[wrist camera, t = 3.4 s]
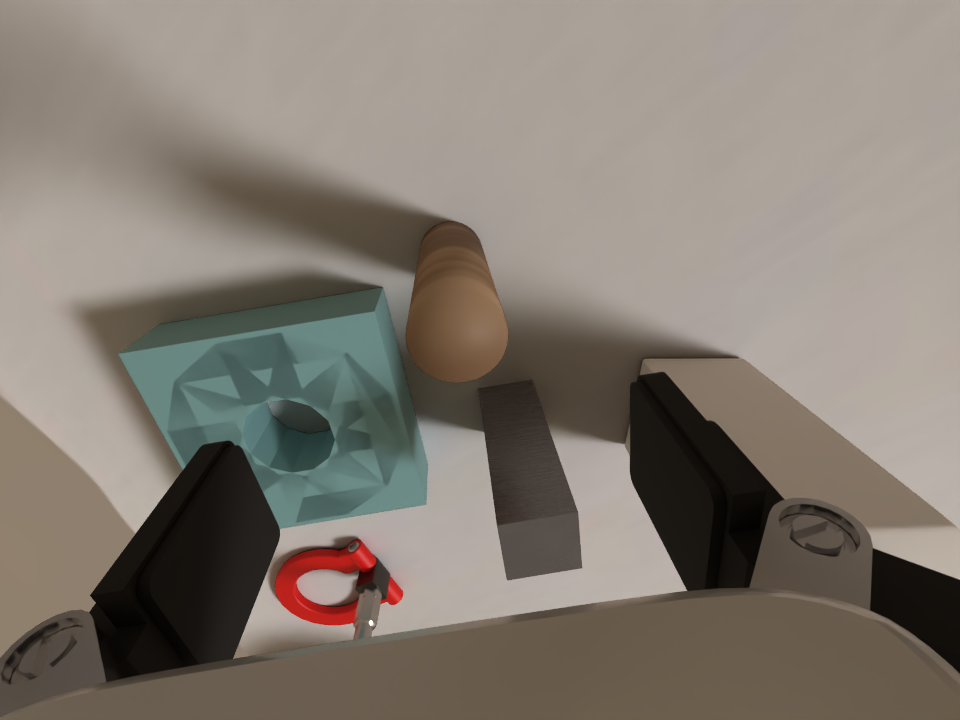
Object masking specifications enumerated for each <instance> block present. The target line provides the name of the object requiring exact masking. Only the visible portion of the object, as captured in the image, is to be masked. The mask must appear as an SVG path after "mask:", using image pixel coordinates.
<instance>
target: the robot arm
mask: <svg viewBox="0 0 960 720" xmlns="http://www.w3.org/2000/svg"><path fill="white" fill-rule="evenodd" d="M630 475H631V480H632V483H633V485H634V487H635V489H636V491H637V493H638V495H639V497H640V499H641V501H642V503H643V505H644V507H645V509H646V511H647V513H648V515H649V517H650V519H651V521H652V523H653V525H654V527H655V528H656V530H657V532H658V534H659V536H660V538H661V540H662V542H663V544H664V546H665V548H666V550H667V552H668V554H669V556H670V558H671V560H672V562H673V564H674V566H675V568H676V570H677V572H678V573H679V575H680V577H681V579H682V581H683V583H684V585H685V587H686V589H687V591H683V592H674V593H667V594H659V595H652V596H644V597H636V598H629V599H621V600H614V601H606V602H599V603H592V604H585V605H579V606H572V607H565V608H558V609H552V610H545V611H538V612H532V613H525V614H518V615H511V616H505V617H498V618H491V619H485V620H478V621H471V622H465V623H458V624H452V625H445V626H439V627H432V628H426V629H419V630H413V631H406V632H400V633H393V634H387V635H381V636H374V637H368V638H361V639H355V640H348V641H342V642H336V643H329V644H323V645H317V646H311V647H304V648H298V649H292V650H286V651H279V652H273V653H267V654H261V655H255V656H248V657H242V658H236V659H233V657H234V655H235V652H236V649H237V647H238V644H239V642H240V639H241V637H242V634H243V632H244V629H245V626H246V624H247V621H248V619H249V616H250V614H251V611H252V608H253V606H254V603H255V601H256V598H257V596H258V593H259V591H260V588H261V585H262V583H263V580H264V578H265V575H266V573H267V570H268V568H269V565H270V562H271V560H272V557H273V555H274V552H275V550H276V547H277V545H278V542H279V538H280V529H279V525H278V523H277V521H276V519H275V517H274V514H273V512H272V510H271V508H270V506H269V504H268V502H267V500H266V498H265V495H264V493H263V491H262V489H261V487H260V485H259V483H258V481H257V479H256V476H255V474H254V472H253V470H252V468H251V466H250V464H249V462H248V459H247V457H246V455H245V453H244V451H243V449H242V448H241V447H240V446H239V445H234V443H233V442H231V441H228V440H227V441H221V442H214V443H208V444H204V445H202V446H201V447H200V448H199V449H198V450H197V452H196V453H195V455H194V456H193V457H192V459H191V460H190V461H189V463H188V464H187V465H186V467H185V468H184V469H183V471H182V472H181V473H180V475H179V476H178V477H177V479H176V480H175V482H174V483H173V484H172V486H171V487H170V488H169V490H168V491H167V492H166V494H165V495H164V496H163V498H162V499H161V500H160V502H159V503H158V504H157V506H156V507H155V509H154V510H153V511H152V513H151V514H150V515H149V517H148V518H147V519H146V521H145V522H144V523H143V525H142V526H141V527H140V529H139V530H138V531H137V533H136V534H135V536H134V537H133V538H132V540H131V541H130V542H129V544H128V545H127V546H126V548H125V549H124V550H123V552H122V553H121V554H120V556H119V557H118V559H117V560H116V561H115V563H114V564H113V565H112V567H111V568H110V569H109V571H108V572H107V573H106V575H105V576H104V577H103V579H102V580H101V581H100V583H99V584H98V585H97V587H96V588H95V590H94V591H93V592H92V594H91V595H90V596H91V597H92V599H93V600H94V601H95V602H96V604H95V605H94V607H93V608H92V609H91V611H90V612H87V611H84V610H71V611H67V612H64V613H61V614H58V615H56V616H53V617H51V618H49V619H47V620H46V621H43V622H42V623H40V624H39V625H37V626H35V627H34V628H33V629H31V630H30V631H28V632H27V633H25V634H24V635H23V636H22V637H21V638H19V639H18V640H17V641H16V642H15V643H14V644H13V645H11V647H10V648H9V649H8V650H7V651H6V652H5V653H4V655H2V657H1V658H0V720H960V580H959V579H957V578H954V577H951V576H948V575H946V574H943V573H940V572H937V571H935V570H932V569H929V568H926V567H924V566H921V565H918V564H915V563H913V562H910V561H907V560H904V559H902V558H899V557H896V556H893V555H891V554H888V553H885V552H882V551H880V550H877V549H874V548H873V545H872V540H871V536H870V534H869V533H868V531H867V530H866V528H865V527H864V525H863V524H862V523H861V522H860V521H858V520H857V519H856V518H855V517H854V516H853V515H851V514H850V513H848V512H846V511H844V510H843V509H841V508H839V507H837V506H835V505H832V504H829V503H827V502H824V501H820V500H815V499H810V498H791V499H786V500H785V499H784V498H783V497H782V496H781V495H780V494H779V493H778V491H777V490H776V489H775V488H774V487H773V486H772V485H771V484H770V482H769V481H768V480H767V479H766V478H765V477H764V476H763V474H762V473H761V472H760V471H759V470H758V469H757V468H756V467H755V465H754V464H753V463H752V462H751V461H750V460H749V459H748V458H747V456H746V455H745V454H744V453H743V452H742V451H741V450H740V449H739V447H738V446H737V445H736V444H735V443H734V442H733V441H732V440H731V438H730V437H729V436H728V435H727V434H726V433H725V432H724V431H723V429H722V428H721V427H720V426H719V425H718V424H717V423H716V422H714V421H711V420H709V421H707V420H706V419H705V418H704V417H703V415H702V414H701V413H700V412H699V411H698V410H697V409H696V407H695V406H694V405H693V404H692V403H691V402H690V400H689V399H688V398H687V397H686V396H685V395H684V393H683V392H682V391H681V390H680V389H679V388H678V386H677V385H676V384H675V383H674V382H673V381H672V379H671V378H670V377H669V376H668V375H667V374H666V373H665V372H657V373H650V374H644V375H639V376H638V379H637V382H633V383H631V385H630Z"/></svg>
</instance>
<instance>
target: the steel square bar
mask: <svg viewBox="0 0 960 720" xmlns="http://www.w3.org/2000/svg"><path fill="white" fill-rule="evenodd" d="M479 397H480V404H481V411H482V419H483V426H484V433H485V441H486V448H487V455H488V463H489V470H490V477H491V485H492V492H493V499H494V506H495V514H496V521H497V528H498V533H499V539H500V544H501V550H502V555H503V561H504V566H505V572H506V577H507V580H512V579H519V578H525V577H531V576H537V575H543V574H549V573H555V572H561V571H567V570H573V569H579V568H582V560H581V546H580V533H579V519H578V511H577V508H576V505H575V502H574V499H573V496H572V494H571V491H570V488H569V485H568V482H567V479H566V476H565V474H564V471H563V468H562V465H561V462H560V459H559V456H558V453H557V451H556V448H555V445H554V442H553V439H552V436H551V433H550V431H549V428H548V425H547V422H546V419H545V416H544V413H543V410H542V408H541V405H540V402H539V399H538V396H537V393H536V390H535V387H534V385H533V382H532V380H528V381H522V382H516V383H510V384H504V385H498V386H492V387H486V388H480V389H479Z"/></svg>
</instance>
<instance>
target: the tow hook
mask: <svg viewBox="0 0 960 720" xmlns="http://www.w3.org/2000/svg"><path fill="white" fill-rule="evenodd" d="M318 569H331V570H337V571H340V572H343V573H352V572H354V571H357V570H360V571H359V576H358V580H357V584H356V588H355V589H356V590H357V591H358V592H359V594H360V596H359V599H358V600H357V601H355V602H354V603H352V604H349V605H347V606H341V607H328V606H322V605H319V604H316V603H313V602H311V601H309V600H308V599H306V598H305V597H304V596H303V595H302V594H301V593H300V592H299V590H298V588H297V584H296V581H297V579H298V578H299V577H300V576H302V575H303V574H305V573H307V572H309V571H312V570H318ZM275 591H276V595H277V597H278V599H279V601H280V602H281V604H282V605H283V606H284V607H285V608H286V609H287V610H289V611H290V612H291V613H292V614H294V615H296V616H298V617H299V618H301V619H304V620H307V621H310V622H313V623H317V624H323V625H344V624H350V623H353V625H354V627H355V628H356V629H355V634H354V638H353V640H355V639H361V638H368V637H371V635H372V630H373V629H374V628H375V627H376V625H377V620H378V615H379V609H380V604H382V603H385V602H388V603H389V604H390V605H395V604H397V603H398V602H399V601H400V600H401V599H402V597H403V591H402V590H401V588H400V587H399V586H398V585H397V584H396V582H395V581H394V580H393V579H392V578H391V576H390V573H389V572H388V570H387V569H386V568H385V567H384V566H383V564H382V563H381V562H380V561H379V560H378V558H377V557H375V556H373V554H372V553H371V552H370V551H369V550H368V548H367V547H366V546H365V545H364V544H363V542H362V541H361V540H360V539H356V540H354V541H352V542H351V543H350V544H349V545H348V546H347V548H346V549H343V550H340V551H338V550H333V549H317V550H311V551H306V552H303V553H300V554H298V555H295V556H293V557H292V558H290V559H289V560H288V561H287V562H285V563H284V564H283V566H282V568H281V569H280V571H279V573H278V575H277V577H276V582H275Z"/></svg>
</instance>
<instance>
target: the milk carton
mask: <svg viewBox="0 0 960 720" xmlns="http://www.w3.org/2000/svg"><path fill="white" fill-rule="evenodd" d="M657 372H665V373H666V374H667V375H668V376H669V377H670V378H671V379H672V381H673V382H674V383H675V384H676V385H677V386H678V388H679V389H680V390H681V391H682V392H683V393H684V395H685V396H686V397H687V398H688V399H689V400H690V402H691V403H692V404H693V405H694V406H695V407H696V409H697V410H698V411H699V412H700V413H701V414H702V415H703V417H704V418H705V419H706V420H707V421H709V420H711V421H714V422H716V423H717V424H718V425H719V426H720V427H721V428H722V429H723V431H724V432H725V433H726V434H727V435H728V436H729V437H730V438H731V440H732V441H733V442H734V443H735V444H736V445H737V446H738V447H739V449H740V450H741V451H742V452H743V453H744V454H745V455H746V456H747V458H748V459H749V460H750V461H751V462H752V463H753V464H754V465H755V467H756V468H757V469H758V470H759V471H760V472H761V473H762V474H763V476H764V477H765V478H766V479H767V480H768V481H769V482H770V484H771V485H772V486H773V487H774V488H775V489H776V490H777V491H778V493H779V494H780V495H781V496H782V497H783V498H784V499H785V500H786V499H791V498H810V499H815V500H820V501H824V502H827V503H829V504H832V505H835V506H837V507H839V508H841V509H843V510H844V511H846V512H848V513H850V514H851V515H853V516H854V517H855V518H856V519H857V520H858V521H860V522H861V523H862V524H863V525H864V527H865V528H866V530H867V531H868V533H869V534H870V536H871V540H872V545H873V548H874V549H877V550H880V551H882V552H885V553H888V554H891V555H893V556H896V557H899V558H902V559H904V560H907V561H910V562H913V563H915V564H918V565H921V566H924V567H926V568H929V569H932V570H935V571H937V572H940V573H943V574H946V575H948V576H951V577H954V578H957V579H959V580H960V529H959V528H958V527H957V526H955V525H954V524H953V523H952V522H951V521H949V520H948V519H947V518H946V517H944V516H943V515H942V514H941V513H939V512H938V511H937V510H936V509H934V508H933V507H932V506H931V505H929V504H928V503H927V502H926V501H924V500H923V499H922V498H921V497H919V496H918V495H917V494H916V493H914V492H913V491H912V490H910V489H909V488H908V487H907V486H905V485H904V484H903V483H901V482H900V481H899V480H898V479H896V478H895V477H894V476H893V475H891V474H890V473H889V472H887V471H886V470H885V469H884V468H882V467H881V466H880V465H879V464H877V463H876V462H875V461H873V460H872V459H871V458H870V457H868V456H867V455H866V454H865V453H863V452H862V451H861V450H859V449H858V448H857V447H856V446H854V445H853V444H852V443H850V442H849V441H848V440H847V439H845V438H844V437H843V436H842V435H840V434H839V433H838V432H836V431H835V430H834V429H833V428H831V427H830V426H829V425H828V424H826V423H825V422H824V421H822V420H821V419H820V418H819V417H817V416H816V415H815V414H814V413H812V412H811V411H810V410H808V409H807V408H806V407H805V406H803V405H802V404H801V403H799V402H798V401H797V400H796V399H794V398H793V397H792V396H791V395H789V394H788V393H787V392H785V391H784V390H783V389H782V388H780V387H779V386H778V385H777V384H775V383H774V382H773V381H771V380H770V379H769V378H768V377H766V376H765V375H764V374H763V373H761V372H760V371H759V370H757V369H756V368H755V367H754V366H752V365H751V364H750V363H749V362H747V361H746V360H744V359H737V358H710V359H644V360H643V361H642V366H641V371H640V375H644V374H650V373H657ZM625 447H626V449H627V451H628V453H629V455H630V423H629V428H628V433H627V438H626V443H625Z"/></svg>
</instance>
